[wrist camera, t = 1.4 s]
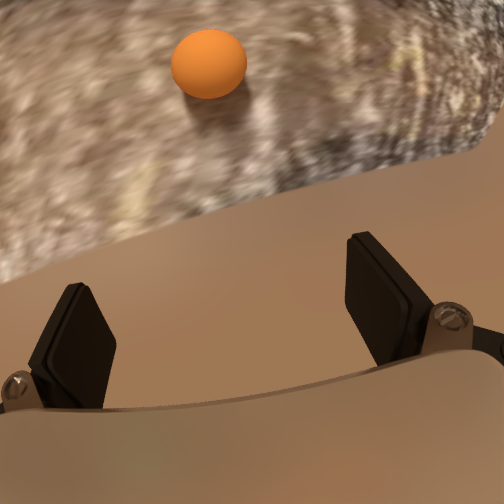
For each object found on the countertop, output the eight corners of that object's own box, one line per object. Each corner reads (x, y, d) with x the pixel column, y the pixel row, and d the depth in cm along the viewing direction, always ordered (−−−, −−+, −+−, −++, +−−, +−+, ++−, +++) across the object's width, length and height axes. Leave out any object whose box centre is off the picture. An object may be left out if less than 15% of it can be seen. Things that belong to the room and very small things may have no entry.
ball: (177, 102, 25) (171, 105, 20) (171, 40, 22) (163, 28, 17) (244, 94, 26) (255, 95, 20) (239, 33, 23) (249, 19, 17)
